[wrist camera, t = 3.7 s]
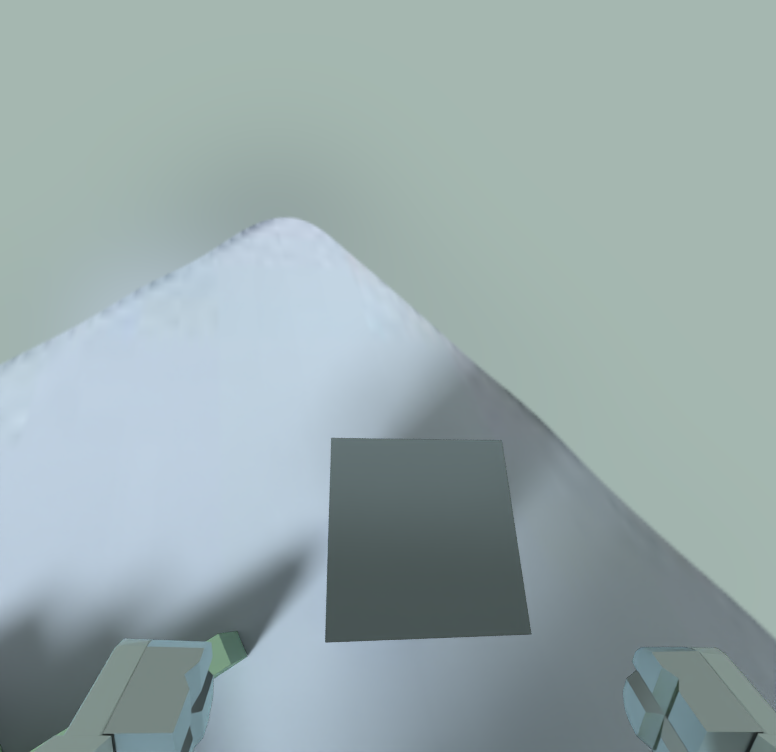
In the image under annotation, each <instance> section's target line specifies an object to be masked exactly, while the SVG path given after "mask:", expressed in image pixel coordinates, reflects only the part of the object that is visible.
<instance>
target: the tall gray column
mask: <svg viewBox="0 0 776 752" xmlns="http://www.w3.org/2000/svg"><path fill="white" fill-rule="evenodd" d="M528 634H531V629H530V622H529V616H528V609H527V603H526V596H525V590H524V583H523V577H522V570H521V564H520V557H519V550H518V544H517V537H516V531H515V524H514V518H513V511H512V505H511V498H510V492H509V485H508V479H507V472H506V466H505V459H504V452H503V446H502V440H439V439H366V438H331V467H330V499H329V531H328V564H327V597H326V631H325V642H350V641H376V640H401V639H426V638H452V637H477V636H503V635H528Z"/></svg>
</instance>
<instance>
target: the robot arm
mask: <svg viewBox="0 0 776 752" xmlns="http://www.w3.org/2000/svg"><path fill="white" fill-rule="evenodd" d="M212 657H213V655H212V643H211V642H201V641H178V640H154V639H153V640H145V639H123V640H122V641H121V642H120V643H119V644H118V645H117V646H116V647H115V648H114V650H113V651H112V653H111V655H110V657H109V658H108V660H107V662H106V663H105V665H104V667H103V669H102V670H101V672H100V674H99V675H98V677H97V679H96V681H95V682H94V684H93V686H92V688H91V689H90V691H89V693H88V694H87V696H86V698H85V700H84V701H83V703H82V705H81V706H80V708H79V710H78V712H77V713H76V715H75V717H74V718H73V720H72V722H71V724H70V725H69V727H68V729H67V730H66V732H65V734H64V735H59V736H53V737H51V738H50V739H49V740H48V741H46V742H45V743H44V744H43V745H41V746H40V747H39V748H38V749H36V750H35V751H34V752H194V747H195V746H196V745H197V744H198V743H199V742H200V741H201V740H202V739H203V737H204V734H205V730H206V727H207V723H208V720H209V715H210V710H211V705H212V700H213V688H214V679H213V675H212V673H211V672H210V671H209V670H208V669H209V666H210V663H211V660H212ZM632 662H633V664H634V666H635V668H636V671H635V672H634V673H633V674H631V675H630V676H629V677H628V678H627V679H626V682H625V686H624V689H623V699H624V708H625V711H626V714H627V717H628V720H629V722H630V724H631V726H632V728H633V730H634V732H635V734H636V736H637V737H638V738H639V739H640V740H642V741H643V742H644V743H645V744H646V745H647V746H649V747H650V748H651V749H652V752H776V712H775V711H774V710H773V709H772V708H771V706H770V705H769V704H768V703H767V702H766V701H765V699H764V698H763V697H762V696H761V695H760V694H759V692H758V691H757V690H756V689H755V688H754V687H753V686H752V684H751V683H750V682H749V681H748V680H747V679H746V677H745V676H744V675H743V674H742V673H741V672H740V670H739V669H738V668H737V667H736V666H735V665H734V664H733V662H732V661H731V660H730V659H729V658H728V657H727V655H726V654H724V653H723V652H722V651H720V650H719V649H717V648H695V647H691V648H688V647H641V648H640V649H638V650H637V651H636V652H635V655H634V657H633V660H632Z"/></svg>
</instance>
